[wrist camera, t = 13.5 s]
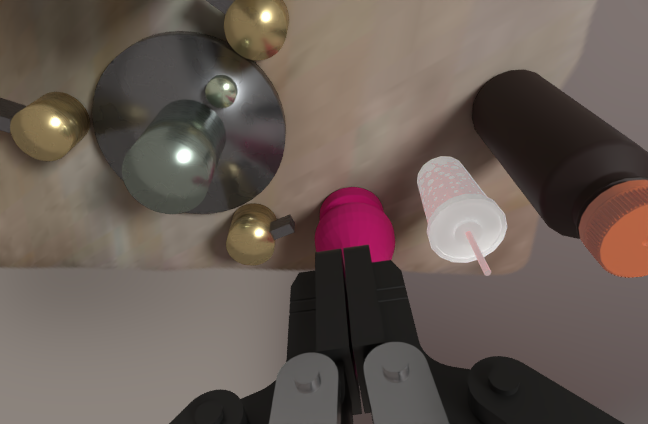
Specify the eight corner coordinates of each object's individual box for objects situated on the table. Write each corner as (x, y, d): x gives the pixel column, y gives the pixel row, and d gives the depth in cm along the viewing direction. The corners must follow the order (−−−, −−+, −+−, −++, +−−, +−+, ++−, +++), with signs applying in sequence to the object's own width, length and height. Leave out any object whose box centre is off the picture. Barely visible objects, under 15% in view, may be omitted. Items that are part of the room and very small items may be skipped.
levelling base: (104, -61, 34) (40, -53, 26) (353, 14, 37) (364, 42, 29) (95, 207, 46) (49, 269, 38) (284, 247, 49) (279, 313, 41)
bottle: (467, 78, 40) (583, 199, 23) (550, 59, 39) (734, 170, 22) (472, 150, 43) (575, 302, 26) (548, 134, 43) (705, 279, 26)
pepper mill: (303, 231, 48) (298, 405, 31) (331, 171, 44) (343, 330, 27) (368, 252, 49) (398, 429, 32) (400, 196, 46) (453, 361, 29)
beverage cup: (395, 184, 45) (425, 280, 33) (440, 135, 42) (490, 221, 31) (441, 216, 47) (485, 318, 35) (487, 171, 44) (551, 265, 33)
